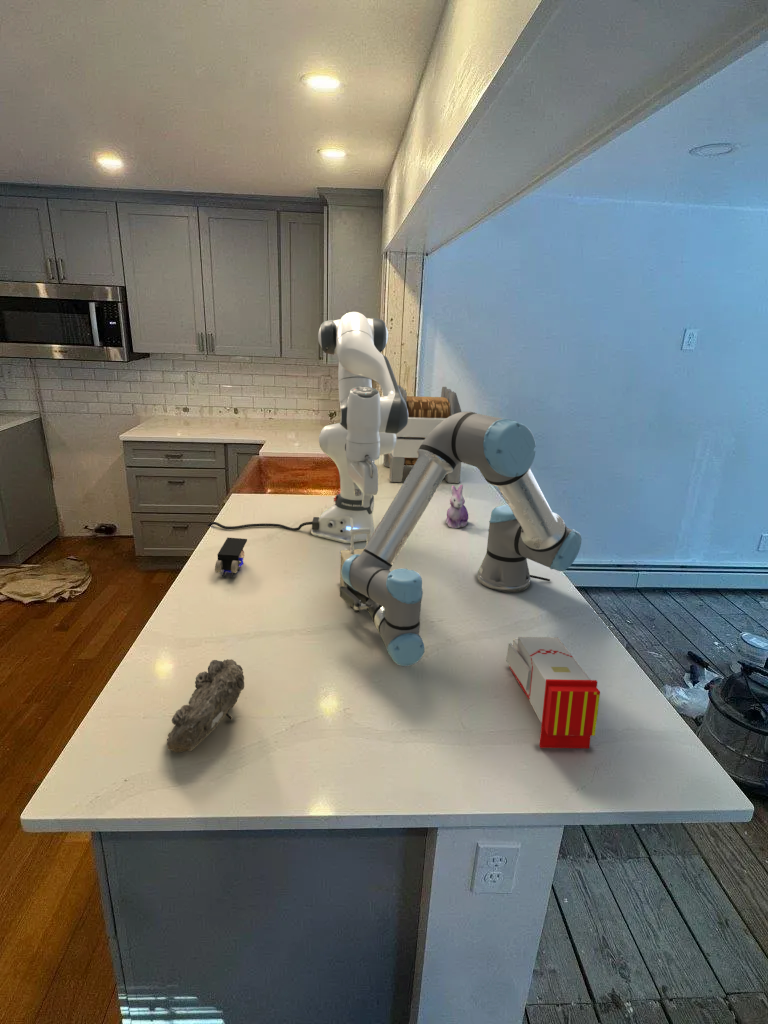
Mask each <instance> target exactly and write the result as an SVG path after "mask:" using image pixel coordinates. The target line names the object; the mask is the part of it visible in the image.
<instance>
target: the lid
mask: <svg viewBox="0 0 768 1024" xmlns="http://www.w3.org/2000/svg"><path fill="white" fill-rule="evenodd" d="M370 533H371V529H370V528H362V529H350V534H351V543H350V549H343V550H340V557H341V556H342V558H343V560H344V562H345V561H346V559H348V558H349V557H350V556H352V555H354V554H359V555H361V553H362V552H363V550H364V548H357V549H355V547H354V546H355V545H354V544H355V542H354V535H357V534H367V540H366V542H365V543H366V544H365V546H366V545H367V543H368V542H369V540H370Z"/></svg>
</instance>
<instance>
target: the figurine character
mask: <svg viewBox="0 0 768 1024" xmlns="http://www.w3.org/2000/svg"><path fill="white" fill-rule="evenodd" d="M247 542H248V538H240V537H226V539H225V541H224V543H223V544H222V546H221V547H220V549H219V551H218V552H217V560H216V562H215V564H214V572H215V573H221V577H222V578H224V577H225V576H226V574H227V573H230V574H231V573H232V574H231V578H234V577H235V575H236V573H237V572H239V571H240V567H242V566H243V565H244V564H245V562H244V558H245V551H244V547H245V546H246V544H247Z"/></svg>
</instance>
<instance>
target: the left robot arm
mask: <svg viewBox="0 0 768 1024" xmlns="http://www.w3.org/2000/svg"><path fill="white" fill-rule="evenodd" d="M317 339H318V344H319V346H320V348H321V350H322V351H323V353H324V354H328V355H336V356H337V359H338V368H337V369H338V371H337V382H338V401H339V408H340V420H339V422H337V423H331V424H328V425H325V426H324V427H322V429H321V430H320V432H319V435H318V444H319V447H320V450H321V451H322V452H323V454H325V455H326V456H327V457H329V458H330V459H331V460H332V462H333V463H334V464H335V466H336V467H337V470H338V474H339V483H340V484H339V485H340V488H339V489H340V490H339V491H338V492H337V494H336V495H335V496H334V497H333V502H334V504H333V505H331V506H329V507H328V508H326V509H325V510H323V512H321V514H320V515H319V516H313V518H312V521H305V522H302V523H300V524H299V525H298V526H297V527H290V526H287V525H284V524H281V523H271V522H270V523H269V522H268V523H267V522H265V523H264V522H262V523H248V524H242V525H233V526H231V525H230V526H229V525H224V524H221V523H220V522H217V521H211V522H209V523H208V524H207V527H212V526H213V525H215V526H217V527H219V528H221V529H225V530H238V529H244V528H245V529H246V528H251V527H253V528H255V527H278V528H282V529H285V530H288V531H293V532H297V531H300V530H301V529H302V528H303V527H304V526H310V525H311V530H310V533H311V536H315V537H319V538H323V539H326V540H330V541H336V542H339V543H343V544H351V534H350V529H362V528H370V529H371V533H370V538H371V537H372V535H373V533H374V532H375V530H376V528H375V523H374V513H373V512H374V509H375V496H377V495H378V492H379V470H378V466H377V465H376V463H375V461H377V460H379V459H380V456H384V454H388V453H391V452H392V451H393V449H394V448H395V445H396V440H397V438H396V434H397V433H398V432H400V431H401V430H402V429H403V428H404V427H405V426H406V425H407V422H408V409H407V405H406V403H405V401H404V399H403V397H402V395H401V393H400V390H399V387H398V385H399V384H398V383H397V379H396V377H395V373H394V370H393V367H392V365H391V363H390V361H389V359H388V357H387V356H386V355H384V354H383V353H382V352H383V351H384V350H385V348H386V347H387V343H388V341H389V331H388V328H387V325H386V322H385V321H384V320H383V319H381V318H378V317H372V318H369V317H366V315H364V314H363V313H361V312H358V311H350V312H346V313H345V314H344V315H342V316H341V317H340V319H334V320H333V319H329V320H325V321H323V322H322V323H321V324H320V327H319V330H318V334H317ZM372 380H373V381H375V382H376V383H377V384H379V386H380V390H381V392H382V395H383V396H381V395H380V391H379V390H378V389H376V388H374V387H373V383H372V382H373V381H372ZM365 541H367V534H357V535H354V543H357V542H365Z"/></svg>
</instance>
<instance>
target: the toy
mask: <svg viewBox="0 0 768 1024" xmlns="http://www.w3.org/2000/svg"><path fill="white" fill-rule="evenodd" d="M505 659H506V660H505V661H506V663H507V664H508V666H509V667H508V669H510V671H511V673H512V674H513V676H514V678H515V680H516V681H517V683H518V685H519V686H520V688H521V689H522V691H523V693H524V694H525V696H526V698H527V700H529V703H530V705H531V707H532V708H533V711H534V712H535V715H536V716H537V718H538V720H539V722H540V725H541V726H540V736H539V744H538V746H539V748H540V749H590V746H591V736H592V737H595V735H596V731H597V730H596V729H597V722H598V721H597V720H598V714H599V713H598V712H599V703H600V697H601V691H600V690H599V688H598V680H596V679H591V678H590V677H589V675H588V674H587V673H586V672H585V670H584V669H583V668H582V667H581V665H580V664H579V663H578V661H577V660H576V659H575V657H574V656H573V655H572V653H570V650H569V649H568V648H567V647H566V645H564V643H563V642H562V641H561V639H560V638H559V637H548V636H547V637H546V636H545V637H543V636H518V638H517V637H515V638H512V643H511V642H508V646H507V653H506V658H505Z"/></svg>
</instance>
